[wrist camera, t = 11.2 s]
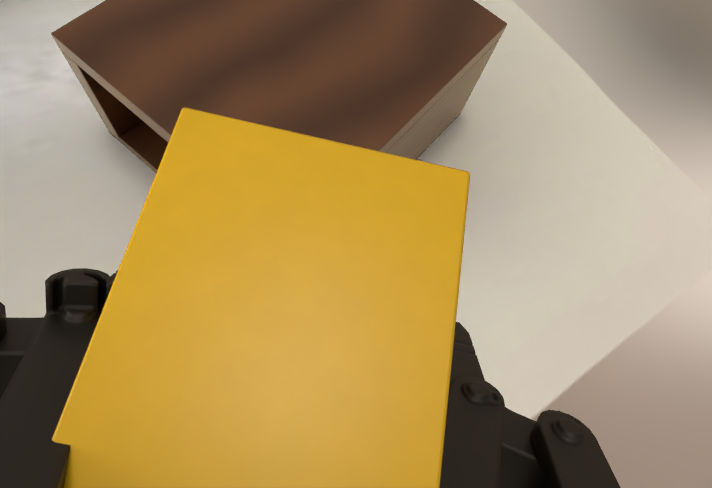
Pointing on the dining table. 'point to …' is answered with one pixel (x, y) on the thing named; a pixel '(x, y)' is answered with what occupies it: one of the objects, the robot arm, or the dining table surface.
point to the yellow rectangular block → (274, 320)
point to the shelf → (282, 66)
